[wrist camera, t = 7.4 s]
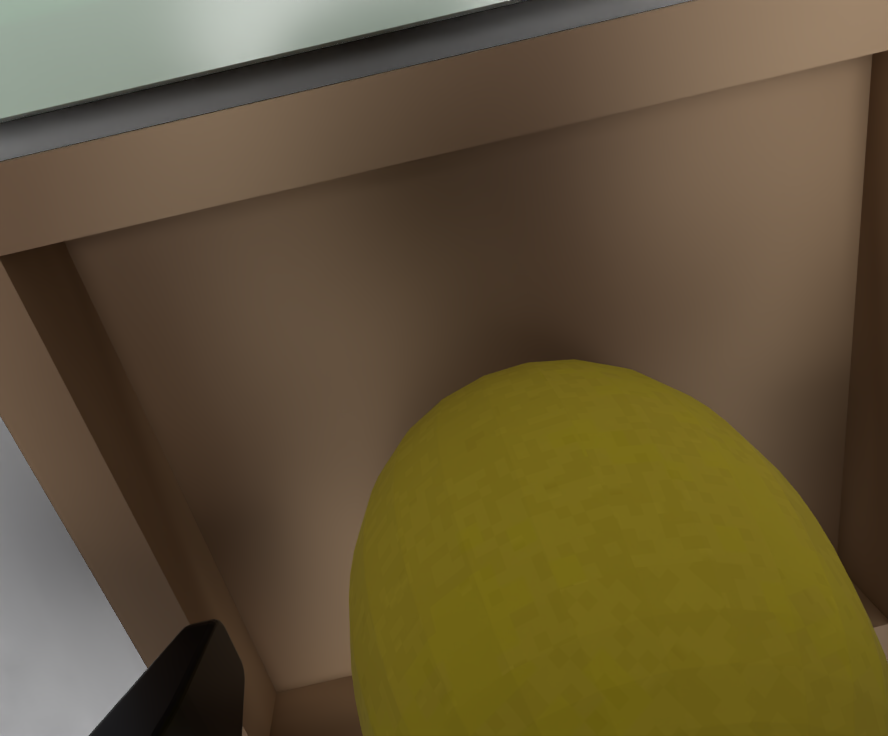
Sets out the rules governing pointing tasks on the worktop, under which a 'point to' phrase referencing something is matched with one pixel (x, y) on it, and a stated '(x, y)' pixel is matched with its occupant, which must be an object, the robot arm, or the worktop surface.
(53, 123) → the worktop surface
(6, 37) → the dish
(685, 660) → the lemon
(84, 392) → the tray
